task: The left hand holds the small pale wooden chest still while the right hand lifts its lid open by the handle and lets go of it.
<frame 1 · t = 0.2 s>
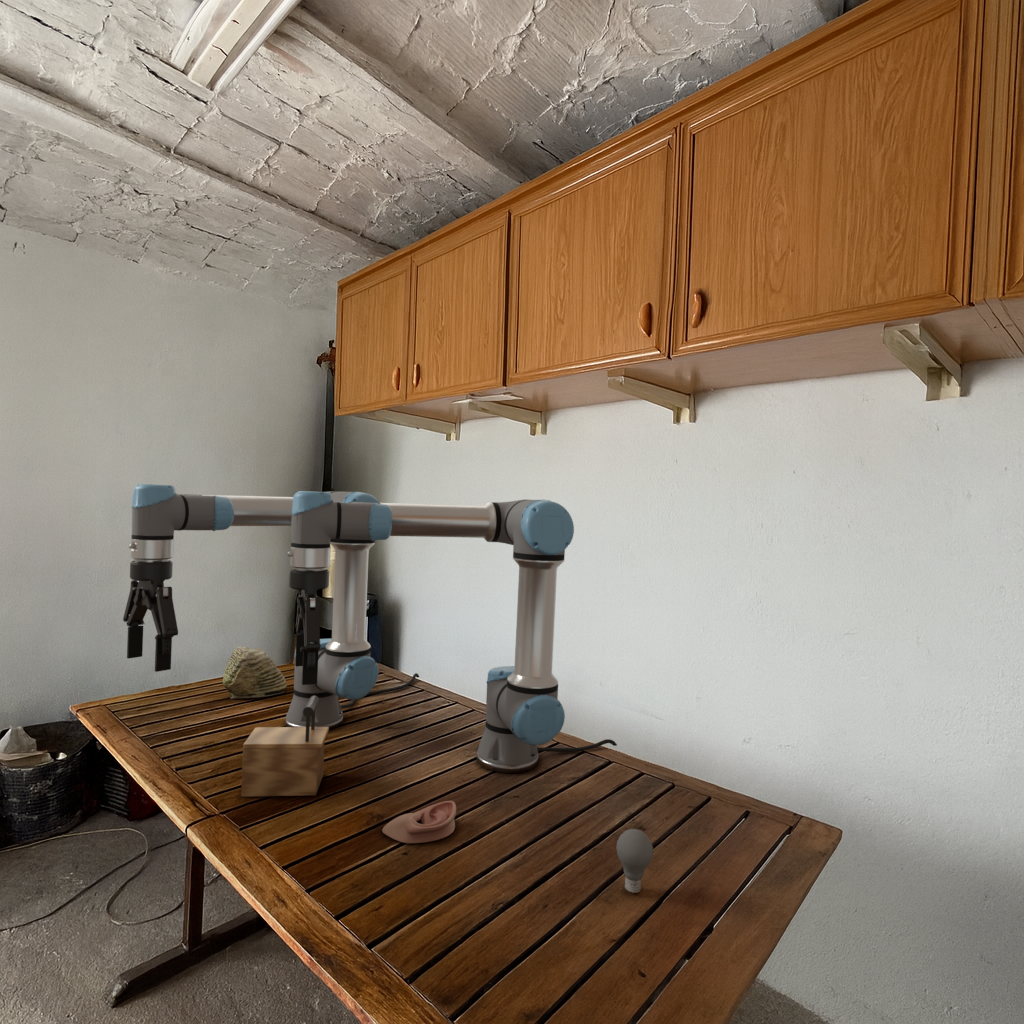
left hand: (148, 663, 129), 28 cm above the table, tool pointing down, fingers open, 13 cm apart
right hand: (305, 674, 127), 28 cm above the table, tool pointing down, fingers open, 13 cm apart
lid: (288, 720, 138), point 14 cm above the table, hinge at 0.0°
chest: (283, 785, 138), on the table
light bulb: (632, 891, 106), on the table
fossil: (254, 694, 198), on the table
anatomical model: (419, 829, 122), on the table
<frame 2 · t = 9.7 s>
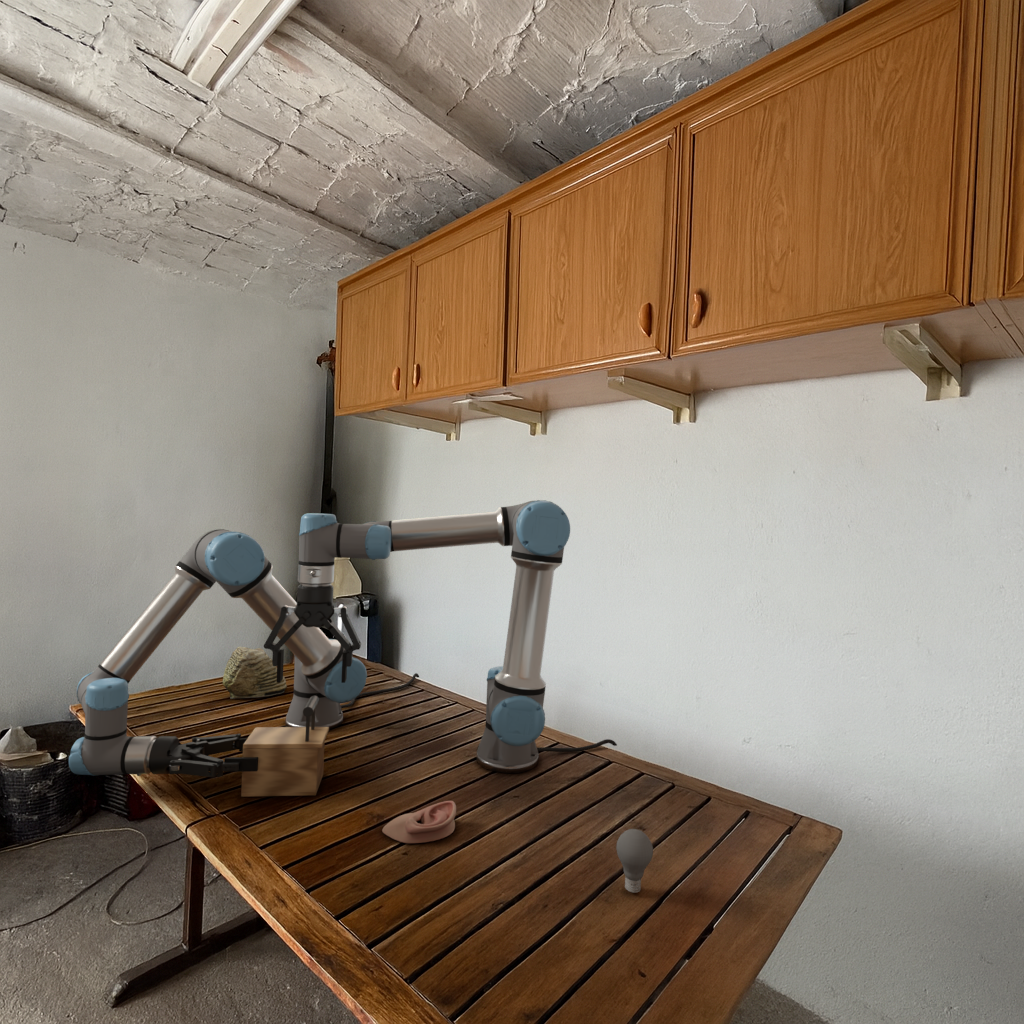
left hand: (264, 753, 137), 7 cm above the table, tool horizontal, fingers closed on chest, 10 cm apart
right hand: (312, 681, 138), 23 cm above the table, tool pointing down, fingers open, 13 cm apart
chest: (283, 785, 138), on the table, touching left hand
everything else where it was.
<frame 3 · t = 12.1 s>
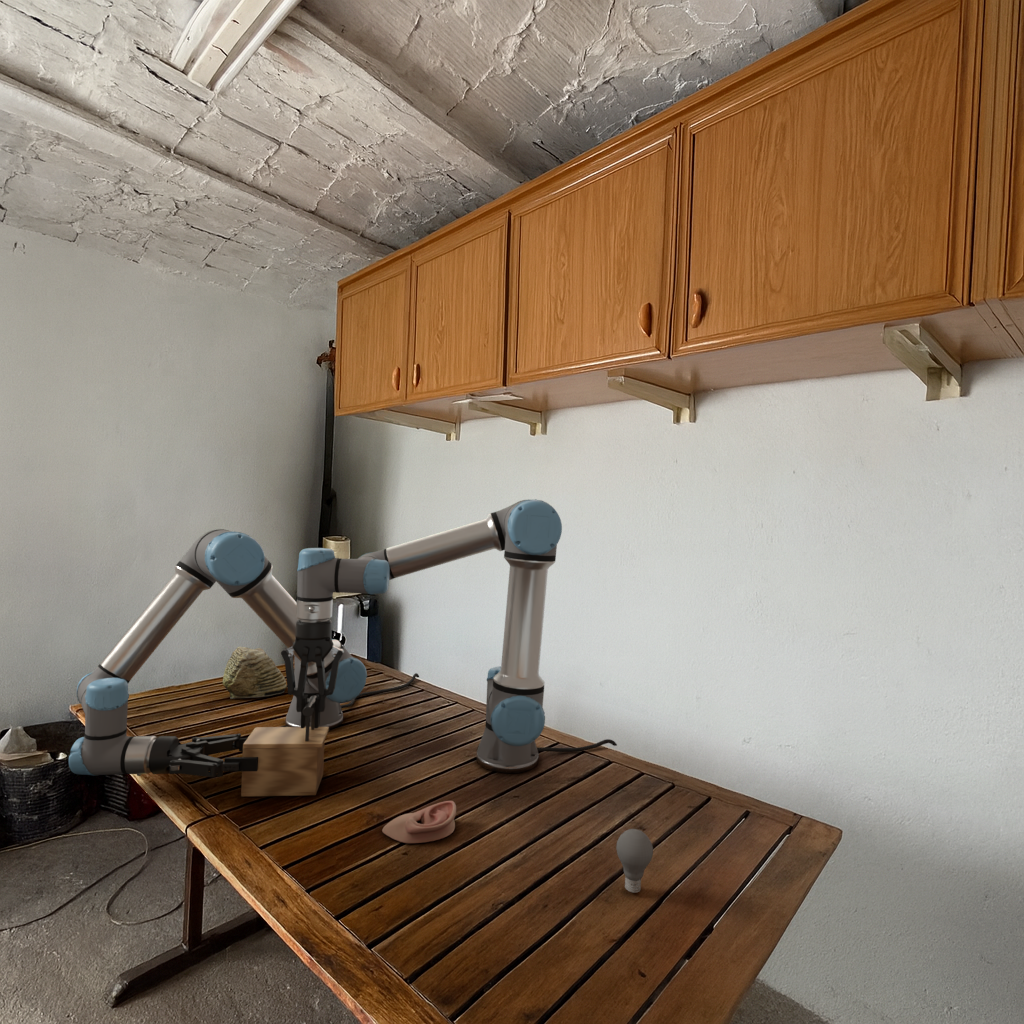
left hand: (264, 753, 137), 7 cm above the table, tool horizontal, fingers closed on chest, 10 cm apart
right hand: (310, 725, 139), 13 cm above the table, tool pointing down, fingers closed on lid, 2 cm apart
lid: (288, 720, 138), point 14 cm above the table, hinge at 0.1°, touching right hand
chest: (283, 785, 138), on the table, touching left hand
everything else where it was.
when the left hand's fingers open (7 cm above the table, at t = 19.1 s): chest stays where it is, on the table.
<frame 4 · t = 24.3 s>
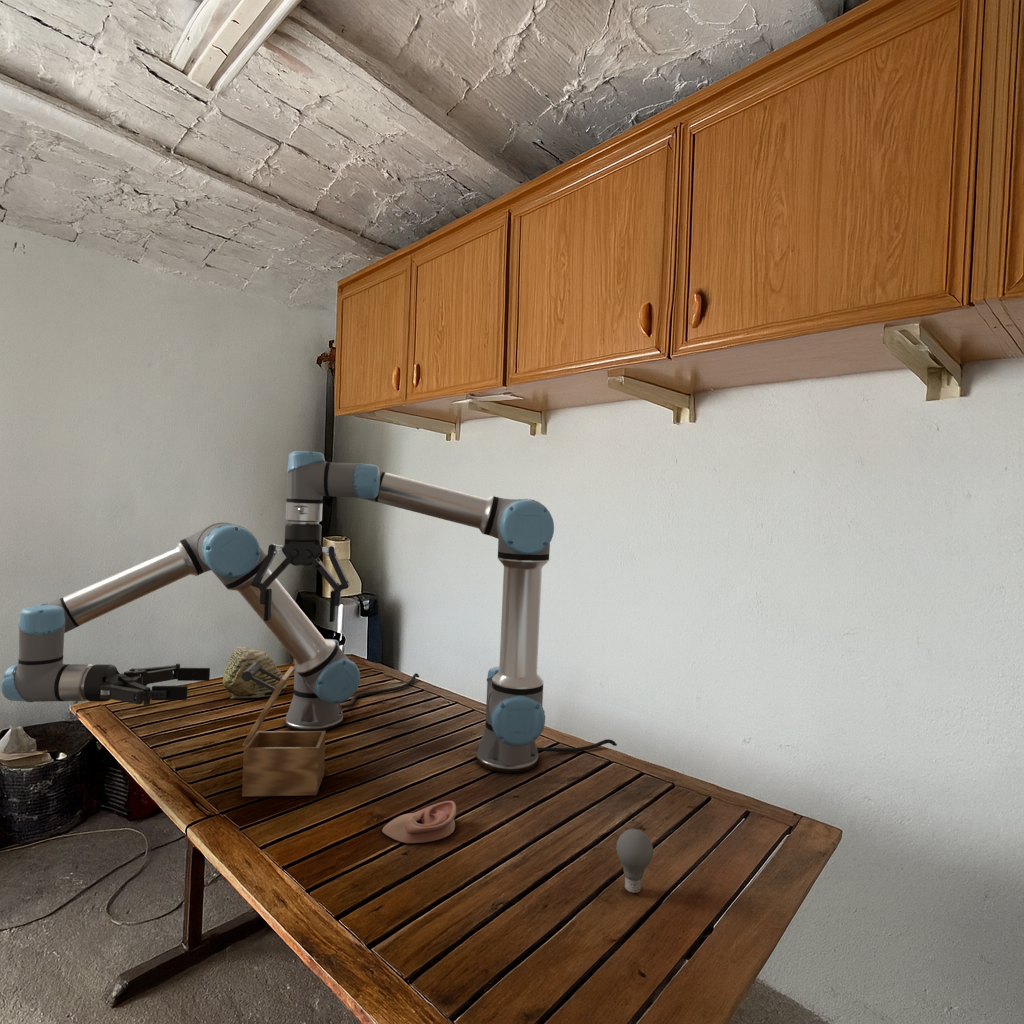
left hand: (198, 683, 135), 22 cm above the table, tool horizontal, fingers open, 13 cm apart
right hand: (299, 620, 138), 36 cm above the table, tool pointing down, fingers open, 13 cm apart
lid: (253, 697, 137), point 19 cm above the table, hinge at 62.3°
chest: (284, 785, 138), on the table
everything else where it was.
at the end: lid at +62° (first picture: +0°); the left hand is holding nothing; the right hand is holding nothing; chest tilted 0°; chest never tilted more than 2° during the clip; chest moved 0.2 cm from its start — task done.
